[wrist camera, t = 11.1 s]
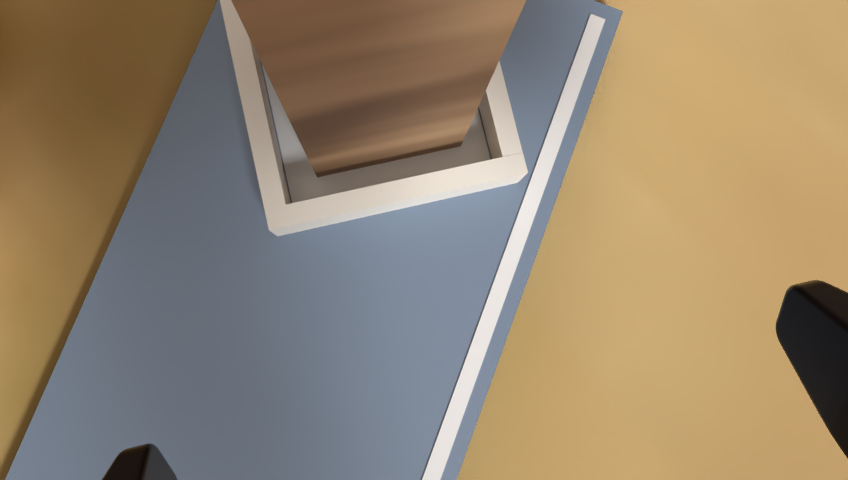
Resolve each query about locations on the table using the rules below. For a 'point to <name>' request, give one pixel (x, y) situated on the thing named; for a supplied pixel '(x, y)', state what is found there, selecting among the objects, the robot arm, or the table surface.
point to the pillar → (378, 72)
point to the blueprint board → (315, 278)
